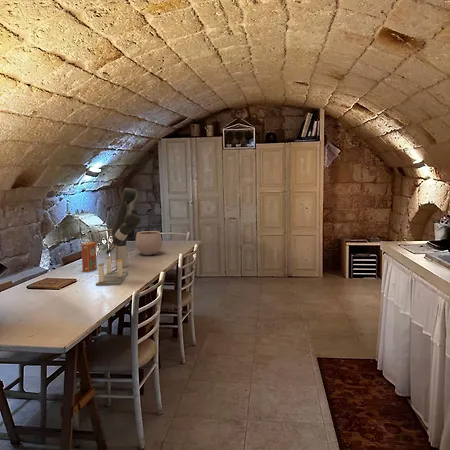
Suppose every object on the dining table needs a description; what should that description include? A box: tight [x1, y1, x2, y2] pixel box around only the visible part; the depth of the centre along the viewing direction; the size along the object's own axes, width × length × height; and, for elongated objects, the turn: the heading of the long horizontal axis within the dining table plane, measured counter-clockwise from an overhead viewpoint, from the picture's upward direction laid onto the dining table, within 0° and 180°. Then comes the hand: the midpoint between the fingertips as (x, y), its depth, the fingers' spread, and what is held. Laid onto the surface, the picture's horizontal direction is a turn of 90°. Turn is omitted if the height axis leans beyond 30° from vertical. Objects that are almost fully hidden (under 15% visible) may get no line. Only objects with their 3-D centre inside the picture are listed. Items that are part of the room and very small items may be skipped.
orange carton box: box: [80, 241, 98, 273], centre depth 331 cm, size 21×7×15 cm
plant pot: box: [135, 223, 163, 256], centre depth 393 cm, size 24×24×30 cm
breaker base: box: [95, 255, 129, 287], centre depth 301 cm, size 16×35×14 cm, turn 4°
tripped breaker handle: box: [116, 259, 123, 277], centre depth 301 cm, size 3×5×12 cm, turn 4°
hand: (107, 253), depth 300 cm, fingers closed
